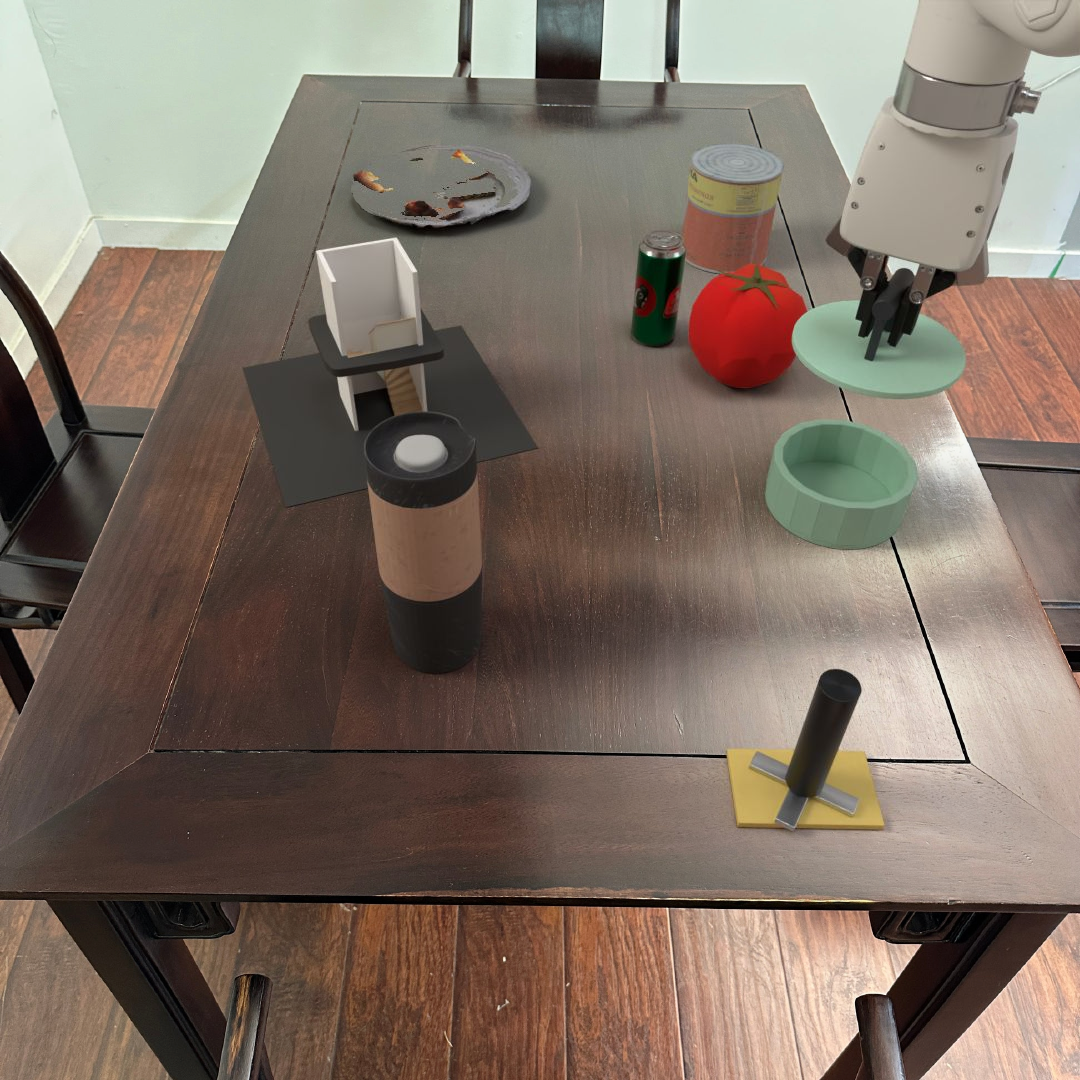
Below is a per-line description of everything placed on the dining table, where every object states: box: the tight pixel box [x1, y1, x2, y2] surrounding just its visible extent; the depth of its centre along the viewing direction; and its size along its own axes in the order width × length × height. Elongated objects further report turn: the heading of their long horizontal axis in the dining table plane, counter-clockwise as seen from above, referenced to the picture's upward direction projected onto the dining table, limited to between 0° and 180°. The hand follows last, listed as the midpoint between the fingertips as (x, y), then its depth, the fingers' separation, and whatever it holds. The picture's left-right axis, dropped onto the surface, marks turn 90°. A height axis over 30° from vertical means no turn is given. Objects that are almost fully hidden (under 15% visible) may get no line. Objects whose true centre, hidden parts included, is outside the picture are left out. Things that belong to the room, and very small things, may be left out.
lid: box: [792, 267, 967, 400], centre depth 76 cm, size 14×14×6 cm
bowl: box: [764, 418, 919, 550], centre depth 89 cm, size 13×13×5 cm
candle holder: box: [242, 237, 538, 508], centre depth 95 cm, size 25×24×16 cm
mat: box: [726, 748, 885, 831], centre depth 68 cm, size 10×6×1 cm, turn 89°
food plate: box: [352, 144, 532, 229], centre depth 135 cm, size 25×23×4 cm
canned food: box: [681, 142, 785, 275], centre depth 121 cm, size 11×11×12 cm
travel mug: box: [364, 411, 483, 674], centre depth 71 cm, size 8×8×20 cm
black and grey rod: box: [749, 668, 863, 832], centre depth 64 cm, size 8×8×12 cm
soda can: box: [630, 229, 686, 347], centre depth 107 cm, size 5×5×12 cm
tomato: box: [687, 264, 808, 389], centre depth 102 cm, size 12×13×12 cm
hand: (881, 332), depth 77 cm, fingers closed on lid
